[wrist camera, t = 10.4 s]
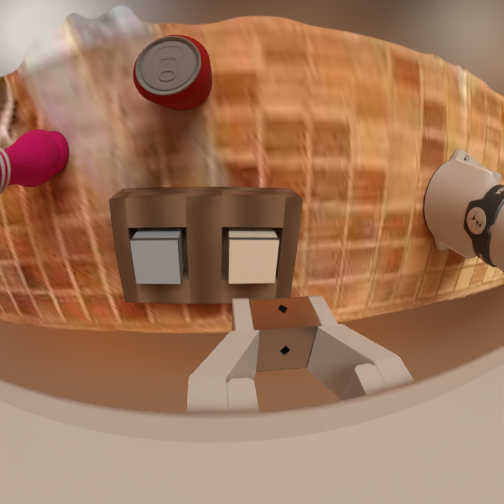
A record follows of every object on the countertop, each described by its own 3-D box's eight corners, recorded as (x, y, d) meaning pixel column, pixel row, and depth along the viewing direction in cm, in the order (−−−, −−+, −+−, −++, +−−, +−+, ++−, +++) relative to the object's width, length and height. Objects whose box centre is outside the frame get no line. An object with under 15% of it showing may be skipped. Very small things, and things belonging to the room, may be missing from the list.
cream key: (271, 224, 35) (279, 240, 30) (268, 263, 37) (275, 283, 33) (227, 224, 34) (229, 240, 30) (226, 263, 37) (228, 283, 32)
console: (291, 189, 35) (302, 198, 31) (281, 282, 41) (289, 301, 37) (122, 189, 32) (109, 199, 28) (134, 282, 38) (125, 302, 34)
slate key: (182, 224, 33) (177, 240, 29) (184, 264, 36) (181, 284, 31) (140, 225, 33) (129, 240, 28) (144, 263, 35) (136, 283, 31)
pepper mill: (49, 118, 26) (-60, 134, 8) (81, 145, 29) (-26, 179, 11) (27, 160, 28) (-73, 203, 10) (56, 188, 31) (-40, 249, 13)
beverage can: (213, 59, 27) (212, 26, 16) (211, 110, 30) (208, 101, 19) (158, 62, 26) (130, 34, 15) (156, 112, 29) (125, 107, 18)
